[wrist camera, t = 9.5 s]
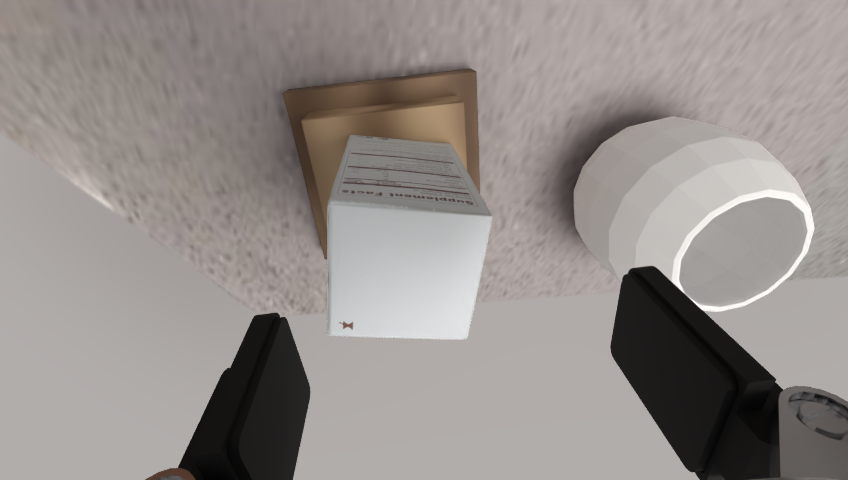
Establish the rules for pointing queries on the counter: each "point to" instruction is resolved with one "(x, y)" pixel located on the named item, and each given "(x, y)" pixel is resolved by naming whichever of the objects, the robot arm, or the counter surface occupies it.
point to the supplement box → (403, 241)
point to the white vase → (693, 210)
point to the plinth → (381, 95)
